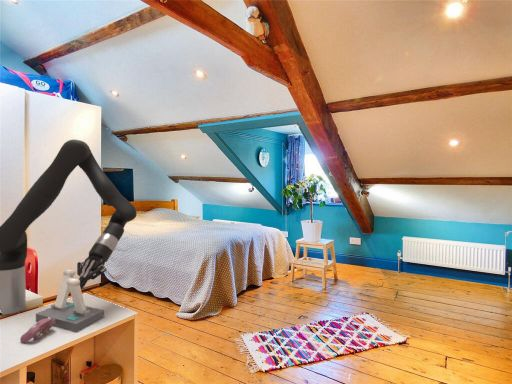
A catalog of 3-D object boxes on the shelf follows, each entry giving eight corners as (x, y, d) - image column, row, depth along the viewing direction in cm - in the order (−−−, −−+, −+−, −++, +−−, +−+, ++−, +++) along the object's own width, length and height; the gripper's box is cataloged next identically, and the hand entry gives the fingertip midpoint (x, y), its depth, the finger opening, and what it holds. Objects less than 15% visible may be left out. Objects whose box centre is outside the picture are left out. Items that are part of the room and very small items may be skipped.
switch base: (35, 321, 117) (35, 309, 117) (65, 308, 128) (65, 297, 128) (76, 332, 110) (76, 319, 110) (103, 317, 121) (103, 306, 121)
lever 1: (52, 307, 120) (64, 268, 124) (58, 307, 122) (69, 269, 126) (59, 309, 119) (71, 270, 123) (65, 309, 121) (76, 270, 125)
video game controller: (28, 349, 102) (36, 331, 101) (17, 341, 103) (25, 323, 102) (53, 333, 112) (60, 317, 111) (43, 326, 113) (50, 310, 112)
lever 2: (75, 314, 117) (65, 280, 112) (80, 310, 119) (71, 276, 115) (82, 316, 116) (73, 281, 111) (88, 311, 118) (79, 278, 113)
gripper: (85, 240, 125) (57, 281, 115) (112, 243, 121) (85, 286, 110) (96, 250, 131) (71, 290, 120) (122, 254, 126) (98, 295, 116)
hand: (78, 288), depth 115 cm, fingers closed
